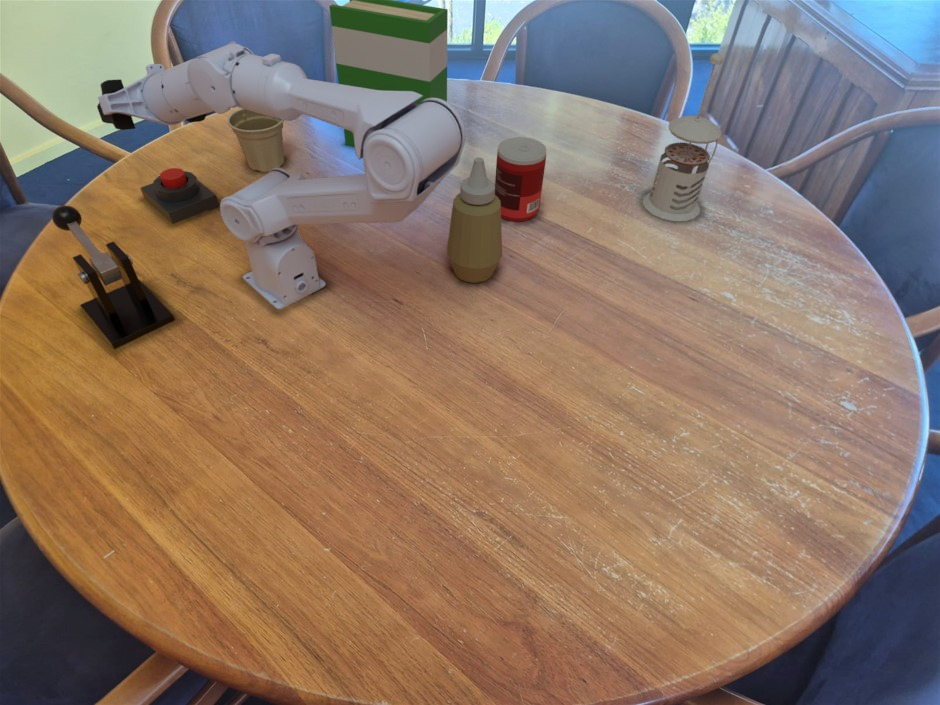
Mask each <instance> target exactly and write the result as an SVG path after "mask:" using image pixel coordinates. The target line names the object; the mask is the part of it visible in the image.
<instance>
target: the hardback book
mask: <svg viewBox="0 0 940 705" xmlns="http://www.w3.org/2000/svg"><path fill="white" fill-rule="evenodd" d="M448 11H449V10H448V9H447V8H443V7H442V8H441V7H436V6H430V5H424V4H420V3H419V4H418V3H412V2H406V1H399V0H349V1H348V2H347V3H345V4H343V5H339V4H329V15H330V23H331V24H330V25H331V33H332V40H333V49H334V58H335V66H336V74H337V82H338V83H337V84H342V85H349V86H355V87H361V88H367V89H374V90H382V91H413V92H416V93H418V94H421V95H423V97H421V98H419V99H418V100H416V101H415V103H416V104H419V103H420V102H421V101H423V100H425V99H427V98H439V99H442V100H444V101H446V102H448V21H449V20H448V15H449V14H448V13H449V12H448ZM343 133H344V140H345V141H344V142H345V143H344V144H345V146H348V147H352V148H355V144H354V136H353V133H352V132H351V131H349V130H346V129H343Z"/></svg>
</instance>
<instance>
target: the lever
mask: <svg viewBox="0 0 940 705" xmlns="http://www.w3.org/2000/svg"><path fill="white" fill-rule="evenodd" d="M82 218H83V217H82V215H81V212H79V210H78V209H77V208H75V207H73V206H71V205H67V204H66V205H59V206H58V207H55V209H53V211H52V214H51V219H52V222H53V224H54V225H55V226H56V228H58V229H60V230H62V231H66V232H71V234H72V235H73V236H74V238H75V239H76V240H77V242H78V243H79V244H80V245H81V247H82V248H83V250H84V251H85V252H86V253H87V255H88V256H89V257H90V258H88V261H89V262H90V265H91V266H92V268H93V269H94V270H95V271H96V273H97V275H98V277H99V279H100V281H101V283H102V284H103V286H108V285H111V284H113V283H115V282H118V281H121V280H122V278H123V277H122V275H121V272H120V270H119V267H118V265H117V264H116V263H115V261H114V260H113V259H112V257H111V255H110V253H109V252H108V251H105V252H103V253H102V252H100V250H99V249H98V248H97V246H96V245H95V244H94V243H93V241H92V240H91V238H90V237H89V236H88V235H87V233H86V232H85V231H84V230H83V228H82V227H81V224H82V220H83V219H82Z"/></svg>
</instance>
